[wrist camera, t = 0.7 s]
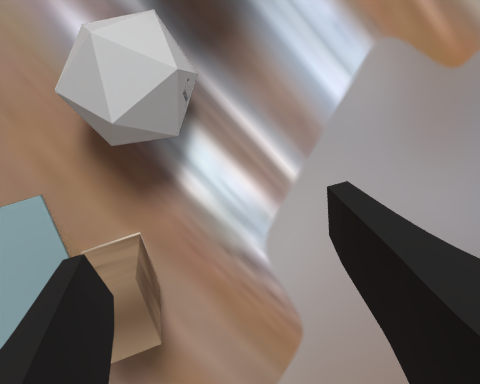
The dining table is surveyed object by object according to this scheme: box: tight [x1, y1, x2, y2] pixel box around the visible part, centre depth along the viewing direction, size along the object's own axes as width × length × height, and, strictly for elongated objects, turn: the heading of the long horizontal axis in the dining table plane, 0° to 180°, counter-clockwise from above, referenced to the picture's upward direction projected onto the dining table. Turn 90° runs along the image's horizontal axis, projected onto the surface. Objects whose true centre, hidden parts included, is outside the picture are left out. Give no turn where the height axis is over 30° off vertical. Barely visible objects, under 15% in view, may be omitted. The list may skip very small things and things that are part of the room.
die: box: [55, 9, 198, 146], centre depth 24 cm, size 8×9×10 cm
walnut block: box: [80, 232, 162, 364], centre depth 26 cm, size 5×5×9 cm
